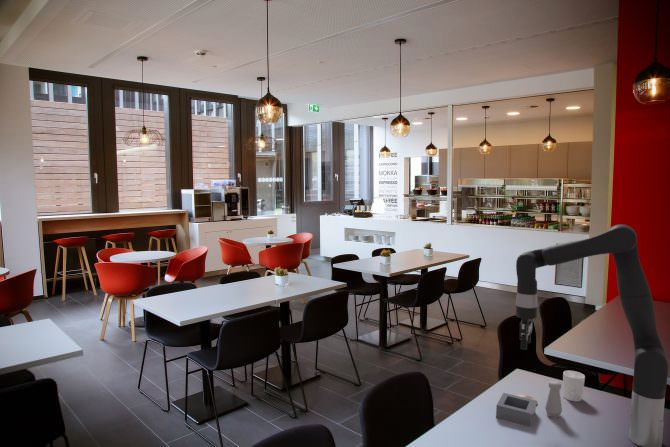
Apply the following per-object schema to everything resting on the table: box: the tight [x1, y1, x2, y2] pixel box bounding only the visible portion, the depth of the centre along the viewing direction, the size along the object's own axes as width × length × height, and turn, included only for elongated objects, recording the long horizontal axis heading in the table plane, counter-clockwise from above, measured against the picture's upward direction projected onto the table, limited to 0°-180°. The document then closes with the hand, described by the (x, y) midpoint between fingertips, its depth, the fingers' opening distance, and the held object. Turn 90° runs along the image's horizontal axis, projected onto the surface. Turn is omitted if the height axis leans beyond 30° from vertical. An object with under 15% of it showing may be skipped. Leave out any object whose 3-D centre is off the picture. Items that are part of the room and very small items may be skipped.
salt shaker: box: [544, 380, 563, 419], centre depth 179 cm, size 6×6×13 cm
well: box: [495, 392, 537, 427], centre depth 178 cm, size 12×12×5 cm
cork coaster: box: [515, 394, 538, 406], centre depth 190 cm, size 9×9×1 cm
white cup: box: [562, 370, 586, 403], centre depth 193 cm, size 8×8×10 cm
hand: (525, 346), depth 180 cm, fingers open, 8 cm apart
